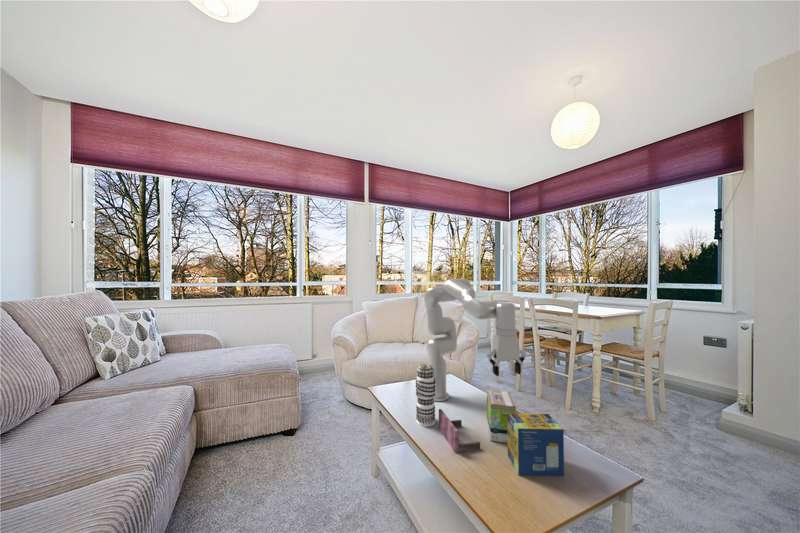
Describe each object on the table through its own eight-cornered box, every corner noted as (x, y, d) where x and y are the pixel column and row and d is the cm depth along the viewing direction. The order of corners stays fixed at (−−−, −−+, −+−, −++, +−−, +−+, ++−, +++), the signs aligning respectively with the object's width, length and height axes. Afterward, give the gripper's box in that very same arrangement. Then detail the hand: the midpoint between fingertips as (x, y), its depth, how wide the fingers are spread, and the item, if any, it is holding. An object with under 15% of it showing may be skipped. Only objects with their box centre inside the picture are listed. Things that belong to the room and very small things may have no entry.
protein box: (507, 456, 106) (506, 413, 106) (549, 456, 105) (549, 413, 106) (517, 476, 95) (517, 428, 96) (565, 476, 95) (564, 428, 95)
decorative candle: (440, 423, 129) (439, 366, 130) (423, 429, 124) (423, 370, 125) (428, 414, 137) (427, 361, 138) (411, 419, 132) (411, 364, 133)
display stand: (438, 428, 125) (438, 409, 125) (460, 425, 127) (460, 406, 127) (455, 453, 107) (454, 431, 108) (480, 449, 110) (480, 428, 110)
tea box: (516, 444, 113) (516, 406, 113) (490, 441, 115) (489, 403, 115) (510, 424, 128) (509, 390, 128) (486, 422, 130) (486, 389, 130)
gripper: (519, 330, 125) (520, 370, 125) (482, 331, 122) (483, 372, 122) (530, 333, 118) (531, 375, 117) (490, 335, 115) (492, 378, 114)
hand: (507, 374), depth 120 cm, fingers open, 9 cm apart
